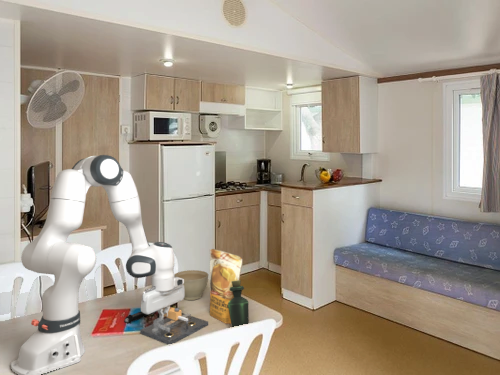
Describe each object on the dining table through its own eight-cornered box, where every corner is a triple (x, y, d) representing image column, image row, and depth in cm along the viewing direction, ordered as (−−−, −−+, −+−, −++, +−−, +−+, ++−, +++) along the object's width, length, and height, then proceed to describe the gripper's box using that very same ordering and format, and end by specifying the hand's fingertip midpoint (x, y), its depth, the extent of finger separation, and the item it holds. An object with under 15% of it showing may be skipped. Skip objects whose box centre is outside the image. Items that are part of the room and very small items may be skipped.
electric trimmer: (160, 314, 177) (160, 306, 177) (128, 325, 165) (128, 317, 165) (154, 311, 179) (154, 304, 179) (123, 322, 167) (123, 315, 167)
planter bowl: (215, 297, 196) (215, 275, 195) (187, 306, 185) (186, 282, 184) (195, 288, 207) (195, 267, 206) (167, 296, 196) (167, 274, 195)
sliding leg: (185, 326, 159) (185, 313, 159) (163, 319, 166) (163, 306, 165) (190, 324, 162) (190, 310, 161) (169, 316, 168) (169, 304, 168)
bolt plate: (169, 345, 148) (169, 329, 147) (140, 333, 157) (139, 318, 156) (208, 325, 165) (208, 310, 164) (179, 315, 174) (179, 302, 174)
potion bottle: (253, 325, 163) (248, 279, 166) (247, 329, 155) (243, 280, 158) (233, 326, 165) (229, 280, 168) (227, 330, 157) (223, 282, 160)
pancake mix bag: (215, 309, 182) (215, 246, 179) (243, 323, 168) (244, 255, 165) (203, 313, 178) (203, 249, 175) (230, 327, 163) (231, 258, 160)
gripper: (147, 292, 151) (148, 328, 153) (187, 278, 168) (187, 311, 169) (136, 289, 155) (137, 324, 156) (176, 275, 172) (176, 307, 173)
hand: (163, 317), depth 163 cm, fingers closed
